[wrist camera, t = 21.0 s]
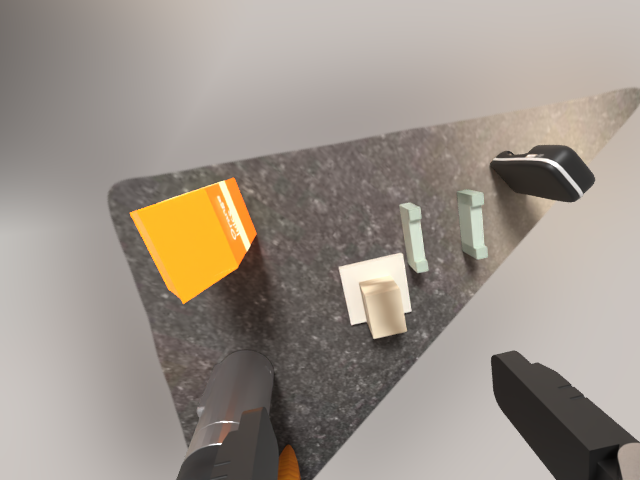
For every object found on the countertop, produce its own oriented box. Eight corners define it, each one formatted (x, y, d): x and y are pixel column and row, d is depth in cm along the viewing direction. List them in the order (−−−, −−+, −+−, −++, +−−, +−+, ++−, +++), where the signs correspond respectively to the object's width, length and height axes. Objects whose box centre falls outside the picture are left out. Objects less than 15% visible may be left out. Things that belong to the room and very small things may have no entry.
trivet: (350, 322, 51) (351, 325, 50) (338, 267, 48) (339, 268, 47) (409, 309, 51) (411, 311, 50) (401, 252, 48) (402, 254, 47)
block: (366, 321, 50) (373, 339, 45) (358, 282, 48) (365, 296, 43) (396, 314, 50) (406, 331, 45) (390, 275, 48) (399, 288, 43)
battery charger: (535, 175, 46) (608, 181, 35) (515, 194, 46) (582, 206, 35) (506, 142, 44) (574, 138, 33) (486, 162, 45) (546, 165, 34)
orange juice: (208, 250, 46) (142, 318, 27) (183, 194, 44) (90, 224, 24) (258, 233, 46) (226, 290, 26) (235, 176, 43) (182, 193, 24)
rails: (407, 263, 48) (417, 273, 44) (399, 204, 46) (408, 209, 42) (472, 248, 48) (487, 257, 44) (467, 189, 46) (483, 192, 42)
